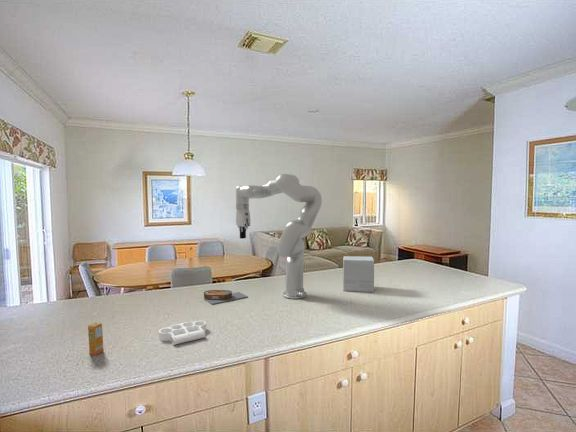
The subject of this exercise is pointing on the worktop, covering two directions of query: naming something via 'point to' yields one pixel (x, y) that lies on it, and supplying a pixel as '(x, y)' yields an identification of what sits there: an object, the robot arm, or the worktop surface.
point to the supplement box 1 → (95, 338)
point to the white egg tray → (183, 332)
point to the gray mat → (234, 297)
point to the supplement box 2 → (358, 273)
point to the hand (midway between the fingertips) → (242, 238)
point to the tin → (217, 294)
